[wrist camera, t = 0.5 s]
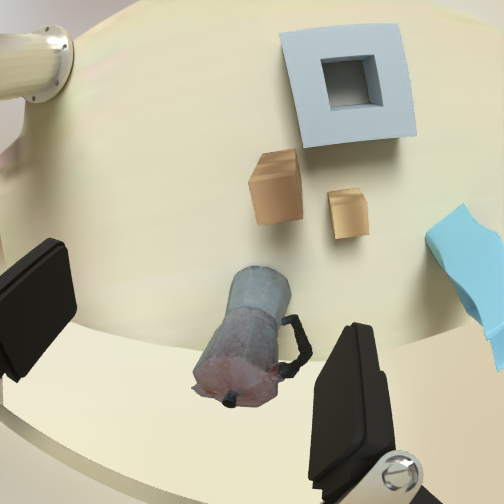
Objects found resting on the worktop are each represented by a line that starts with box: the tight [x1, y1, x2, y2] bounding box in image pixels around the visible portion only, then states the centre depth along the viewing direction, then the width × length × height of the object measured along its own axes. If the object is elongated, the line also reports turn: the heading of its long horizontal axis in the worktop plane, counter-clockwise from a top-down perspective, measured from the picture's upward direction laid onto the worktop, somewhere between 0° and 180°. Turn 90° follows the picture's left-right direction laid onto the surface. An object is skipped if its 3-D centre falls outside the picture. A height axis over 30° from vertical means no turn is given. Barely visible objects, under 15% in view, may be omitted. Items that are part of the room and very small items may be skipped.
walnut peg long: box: [248, 149, 303, 225], centre depth 32 cm, size 4×4×12 cm
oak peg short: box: [328, 188, 369, 239], centre depth 36 cm, size 4×4×5 cm
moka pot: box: [191, 266, 313, 408], centre depth 37 cm, size 10×15×20 cm, turn 127°
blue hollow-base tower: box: [425, 203, 504, 372], centre depth 29 cm, size 8×8×20 cm
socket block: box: [279, 24, 417, 148], centre depth 28 cm, size 12×12×6 cm
